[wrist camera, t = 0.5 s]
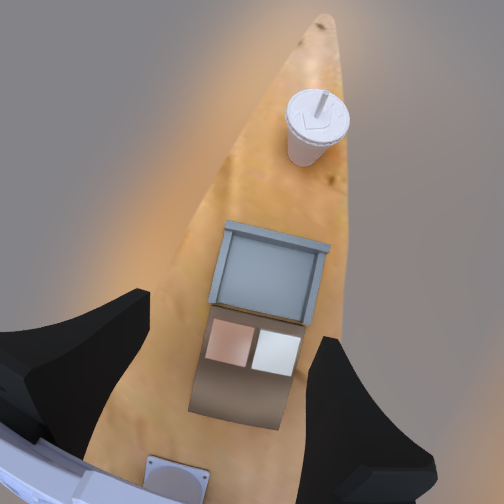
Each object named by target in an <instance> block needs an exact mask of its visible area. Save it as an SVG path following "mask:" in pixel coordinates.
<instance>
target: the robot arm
mask: <svg viewBox="0 0 504 504" xmlns="http://www.w3.org/2000/svg"><path fill="white" fill-rule="evenodd" d="M149 330H150V292H148V291H145V290H142V289H138V288H137V289H134V290H132V291H130V292H128V293H126V294H124V295H122V296H120V297H119V298H117V299H115V300H113V301H111V302H109V303H107V304H105V305H103V306H101V307H99V308H96V309H94V310H92V311H89V312H87V313H85V314H83V315H80V316H78V317H75V318H73V319H70V320H67V321H64V322H61V323H57V324H53V325H49V326H45V327H41V328H36V329H31V330H23V331H15V332H0V483H2V484H3V485H4V486H5V487H7V488H8V489H9V490H11V491H12V492H13V493H15V494H16V495H17V496H19V497H20V498H21V499H23V500H24V501H25V502H27V503H28V504H202V503H203V499H204V495H205V491H206V487H207V483H208V479H209V475H210V472H209V471H207V470H203V469H199V468H195V467H191V466H187V465H183V464H179V463H176V462H172V461H168V460H165V459H162V458H158V457H155V456H152V455H150V456H148V458H147V463H146V470H145V477H144V485H143V487H142V486H139V485H137V484H134V483H132V482H129V481H127V480H124V479H122V478H119V477H117V476H115V475H112V474H110V473H108V472H106V471H103V470H101V469H99V468H97V467H95V466H93V465H91V464H89V463H87V462H85V461H83V458H84V455H85V453H86V450H87V447H88V444H89V441H90V439H91V436H92V434H93V431H94V429H95V426H96V424H97V422H98V420H99V417H100V415H101V413H102V411H103V408H104V406H105V404H106V402H107V400H108V398H109V396H110V394H111V392H112V391H113V389H114V387H115V386H116V384H117V383H118V381H119V380H120V378H121V377H122V375H123V374H124V372H125V371H126V369H127V368H128V366H129V365H130V363H131V362H132V361H133V359H134V358H135V356H136V355H137V353H138V352H139V350H140V349H141V347H142V345H143V343H144V341H145V339H146V337H147V334H148V332H149ZM149 461H151V462H152V463H150V462H149ZM203 476H206V477H203ZM437 480H438V477H437V471H436V465H435V462H434V458H433V456H432V455H431V454H429V453H428V452H427V451H425V450H424V449H422V448H421V447H420V446H418V445H417V444H415V443H414V442H413V441H412V440H411V439H410V438H408V437H407V436H406V435H405V434H404V433H403V432H401V431H400V430H399V429H398V428H397V427H396V426H395V425H394V424H393V423H392V421H390V419H389V418H388V417H387V416H386V415H385V414H384V413H383V412H382V410H381V409H380V408H379V407H378V405H377V404H376V403H375V402H374V400H373V399H372V398H371V396H370V395H369V393H368V392H367V390H366V389H365V387H364V386H363V384H362V383H361V381H360V379H359V378H358V376H357V374H356V372H355V371H354V369H353V367H352V365H351V363H350V361H349V359H348V358H347V356H346V354H345V352H344V350H343V348H342V346H341V344H340V342H339V340H338V339H335V338H330V337H325V336H323V339H322V341H321V343H320V346H319V348H318V351H317V353H316V355H315V358H314V360H313V362H312V365H311V367H310V369H309V372H308V380H307V388H306V443H305V452H304V460H303V466H302V472H301V478H300V484H299V489H298V494H297V499H296V504H416V502H415V500H416V499H417V498H419V497H420V496H421V495H423V494H424V493H426V492H427V491H428V490H429V489H431V488H432V487H433V486H434V484H435V483H436V481H437Z"/></svg>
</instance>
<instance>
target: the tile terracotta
mask: <svg viewBox="0 0 504 504" xmlns="http://www.w3.org/2000/svg"><path fill="white" fill-rule="evenodd" d="M254 329H255V328H254V326H252V325H248V324H243V323H239V322H235V321H231V320H226V319H222V318H218V317H215V318H214V321H213V325H212V330H211V334H210V338H209V343H208V347H207V351H206V356H205V358H209V359H213V360H217V361H221V362H225V363H229V364H234V365H238V366H242V367H245V366H246V362H247V358H248V354H249V350H250V346H251V341H252V337H253V333H254Z"/></svg>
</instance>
